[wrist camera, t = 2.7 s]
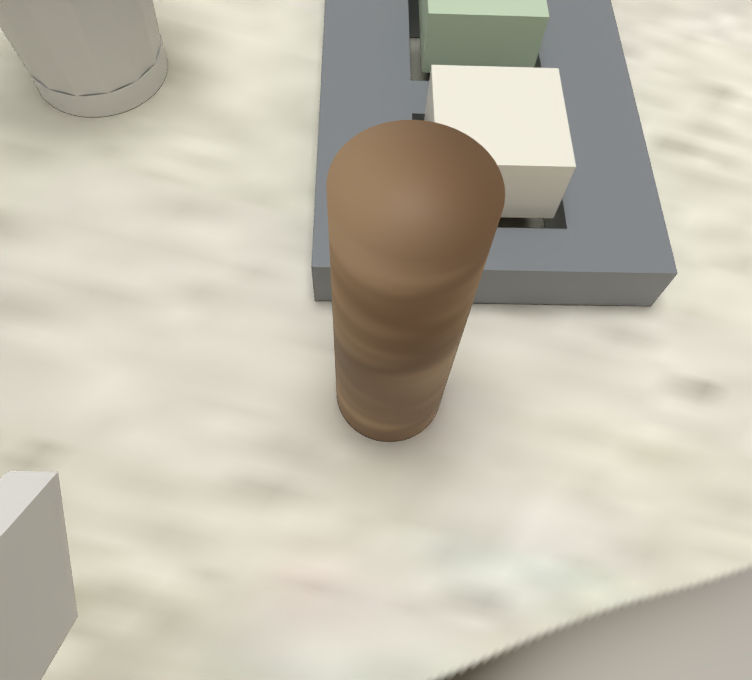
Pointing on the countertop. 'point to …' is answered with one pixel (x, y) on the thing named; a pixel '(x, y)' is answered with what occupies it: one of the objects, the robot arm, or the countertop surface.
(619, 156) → the keypad
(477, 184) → the wooden pepper mill
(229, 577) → the countertop surface
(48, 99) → the cup
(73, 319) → the countertop surface
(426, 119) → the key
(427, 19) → the key mid
